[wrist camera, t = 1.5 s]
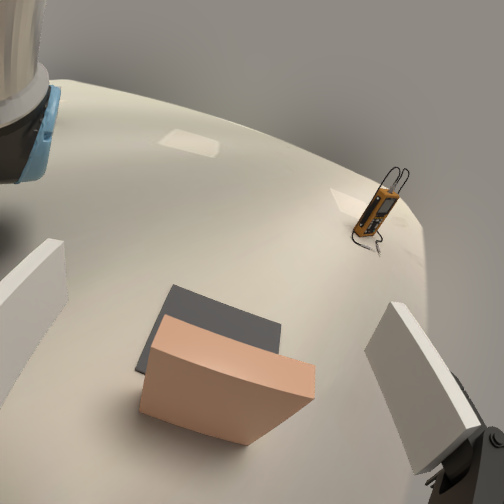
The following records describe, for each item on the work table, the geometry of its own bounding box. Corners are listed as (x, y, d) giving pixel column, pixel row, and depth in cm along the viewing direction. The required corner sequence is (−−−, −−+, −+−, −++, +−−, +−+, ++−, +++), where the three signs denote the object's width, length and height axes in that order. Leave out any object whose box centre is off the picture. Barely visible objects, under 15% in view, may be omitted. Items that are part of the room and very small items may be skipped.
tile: (247, 445, 29) (314, 398, 21) (138, 411, 28) (150, 346, 19) (252, 419, 32) (315, 362, 23) (148, 386, 30) (166, 311, 22)
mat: (270, 414, 33) (271, 413, 32) (135, 370, 31) (135, 368, 31) (280, 325, 44) (281, 324, 44) (172, 286, 42) (173, 284, 42)
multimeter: (369, 260, 68) (419, 189, 56) (343, 230, 73) (386, 161, 61) (398, 253, 76) (440, 193, 65) (374, 228, 82) (412, 169, 70)
